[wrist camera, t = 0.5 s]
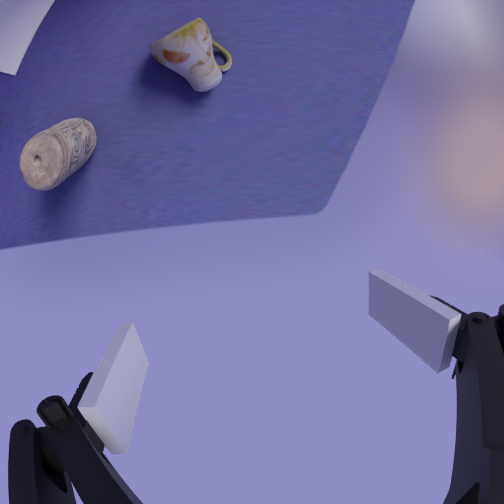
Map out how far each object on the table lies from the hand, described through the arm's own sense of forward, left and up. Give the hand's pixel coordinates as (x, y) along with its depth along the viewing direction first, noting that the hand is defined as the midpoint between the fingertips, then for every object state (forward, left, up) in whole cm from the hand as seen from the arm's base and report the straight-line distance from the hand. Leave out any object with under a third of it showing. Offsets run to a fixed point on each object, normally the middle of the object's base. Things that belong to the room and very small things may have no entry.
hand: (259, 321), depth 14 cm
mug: (-14, -10, -28) cm, 33 cm away
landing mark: (-10, -42, -28) cm, 51 cm away
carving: (+3, -19, -28) cm, 34 cm away
